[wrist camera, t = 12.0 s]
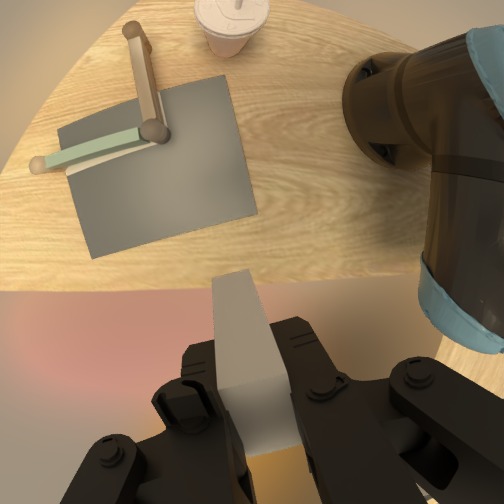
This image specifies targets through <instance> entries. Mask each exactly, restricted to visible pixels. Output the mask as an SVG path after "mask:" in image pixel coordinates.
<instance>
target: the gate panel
mask: <svg viewBox="0 0 504 504" xmlns="http://www.w3.org/2000/svg"><path fill="white" fill-rule="evenodd" d="M149 143H150V141H148V140H146V139H144V138H143V137H142V135H141V133H140V128H138V127H136V128H132V129H128V130H125V131H121V132H118V133H114V134H111V135H107V136H104V137H101V138H97V139H94V140H91V141H88V142H85V143H82V144H79V145H76V146H73V147H70V148H67V149H64V150H62V151H59V152H56V153H53V154H51V155H48V156H35V157H33V158H32V159H31V161H30V163H29V169H30V172H31V173H32V174H34V175H37V174H45V173H53V172H62V171H65V170H66V169H67V167H69V166H72V165H75V164H78V163H81V162H84V161H87V160H90V159H94V158H97V157H100V156H104V155H107V154H111V153H114V152H118V151H121V150H125V149H129V148H133V147H137V146H140V145H145V144H149Z"/></svg>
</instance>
